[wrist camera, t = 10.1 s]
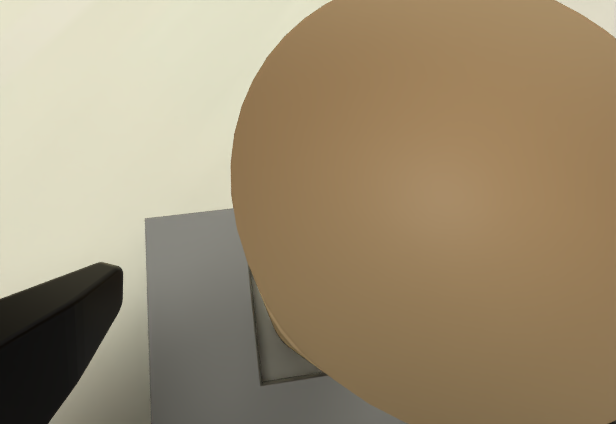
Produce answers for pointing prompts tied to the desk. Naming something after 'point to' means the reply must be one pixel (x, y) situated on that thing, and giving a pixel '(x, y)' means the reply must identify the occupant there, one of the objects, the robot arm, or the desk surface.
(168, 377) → the hole plate
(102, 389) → the desk surface
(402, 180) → the tall dowel
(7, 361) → the robot arm
